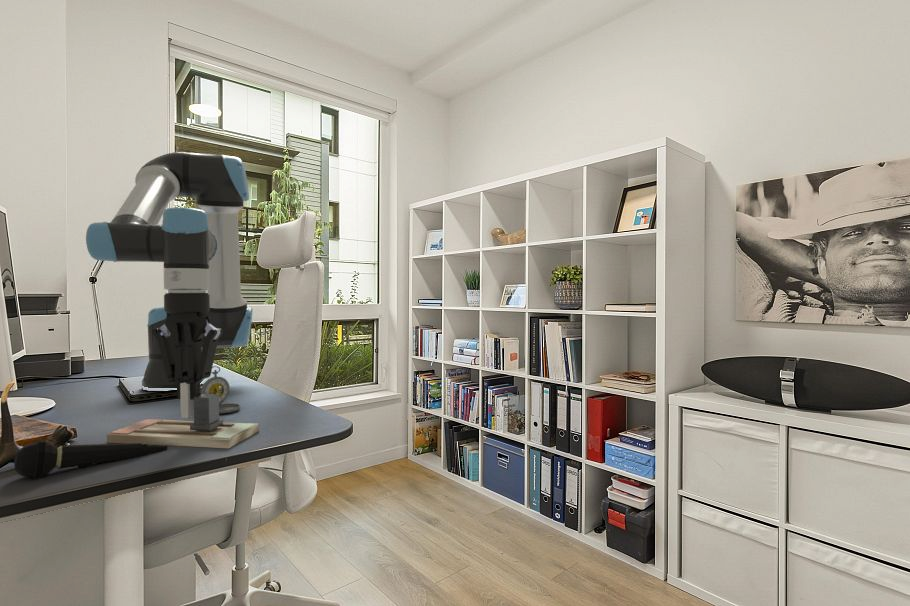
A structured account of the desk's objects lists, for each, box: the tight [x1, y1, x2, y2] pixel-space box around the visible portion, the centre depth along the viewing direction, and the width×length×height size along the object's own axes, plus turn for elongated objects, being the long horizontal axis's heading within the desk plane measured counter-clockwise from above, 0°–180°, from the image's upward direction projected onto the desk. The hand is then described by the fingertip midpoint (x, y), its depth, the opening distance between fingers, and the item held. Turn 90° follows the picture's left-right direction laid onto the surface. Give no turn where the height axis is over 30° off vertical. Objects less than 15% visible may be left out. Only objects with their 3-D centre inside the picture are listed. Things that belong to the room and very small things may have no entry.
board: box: [106, 418, 260, 449], centre depth 92 cm, size 10×24×2 cm, turn 83°
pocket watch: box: [200, 365, 241, 415], centre depth 111 cm, size 8×8×10 cm
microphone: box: [13, 438, 168, 479], centre depth 78 cm, size 6×6×20 cm
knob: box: [190, 393, 224, 431], centre depth 91 cm, size 4×4×6 cm
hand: (189, 416), depth 92 cm, fingers closed
